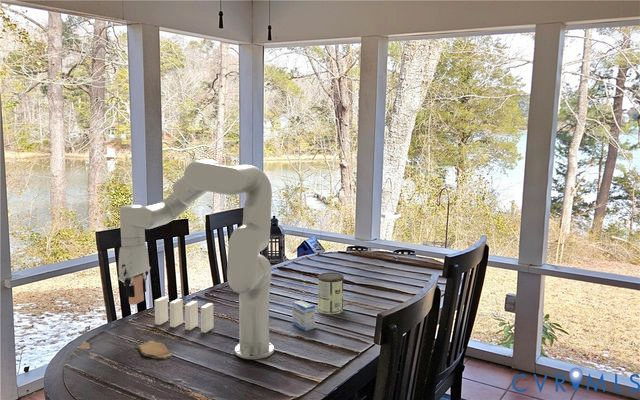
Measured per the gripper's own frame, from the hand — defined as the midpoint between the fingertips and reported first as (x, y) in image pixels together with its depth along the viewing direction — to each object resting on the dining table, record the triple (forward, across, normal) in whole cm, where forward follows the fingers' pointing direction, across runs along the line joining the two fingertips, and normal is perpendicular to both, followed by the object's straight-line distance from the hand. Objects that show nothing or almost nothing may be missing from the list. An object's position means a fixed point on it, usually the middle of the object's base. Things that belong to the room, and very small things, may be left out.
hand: (136, 293), depth 174 cm
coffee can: (+17, -50, +52) cm, 74 cm away
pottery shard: (+16, +8, +13) cm, 22 cm away
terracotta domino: (+3, 0, 0) cm, 3 cm away
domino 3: (+16, -14, +18) cm, 28 cm away
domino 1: (+15, -14, +5) cm, 21 cm away
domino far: (+15, -14, -1) cm, 21 cm away
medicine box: (+17, -30, +49) cm, 60 cm away
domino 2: (+16, -14, +12) cm, 24 cm away
